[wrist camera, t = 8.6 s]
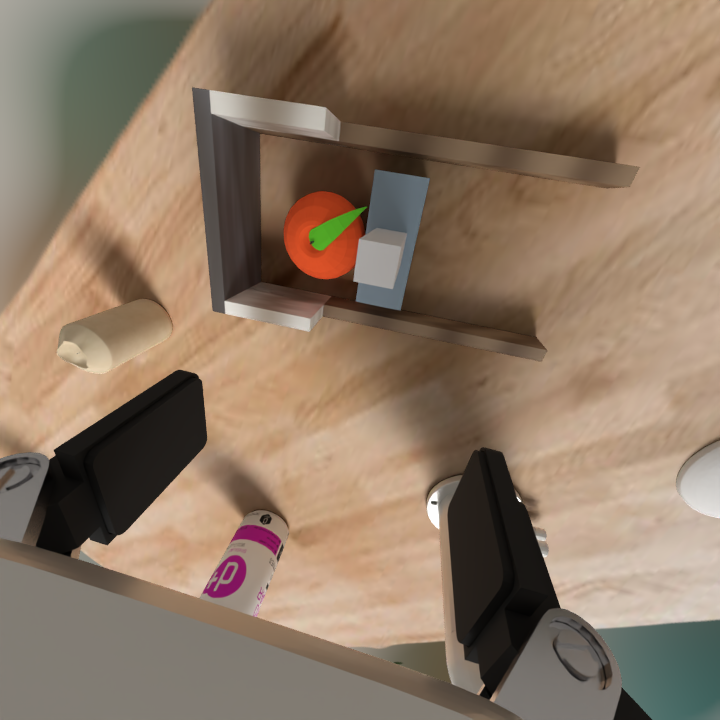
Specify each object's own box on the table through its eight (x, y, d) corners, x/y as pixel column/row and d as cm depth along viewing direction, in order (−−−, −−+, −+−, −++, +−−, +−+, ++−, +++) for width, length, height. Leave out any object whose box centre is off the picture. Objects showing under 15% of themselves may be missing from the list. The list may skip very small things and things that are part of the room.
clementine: (354, 166, 26) (334, 156, 20) (394, 239, 28) (387, 251, 22) (285, 221, 29) (250, 226, 23) (326, 283, 31) (304, 304, 25)
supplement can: (238, 507, 52) (178, 609, 39) (282, 508, 50) (233, 616, 37) (255, 537, 56) (204, 640, 43) (296, 539, 54) (256, 648, 41)
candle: (137, 336, 39) (55, 375, 30) (126, 294, 36) (34, 324, 28) (176, 344, 39) (105, 386, 30) (169, 302, 36) (88, 335, 27)
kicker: (428, 181, 26) (434, 168, 15) (402, 296, 30) (393, 348, 20) (381, 173, 26) (354, 155, 15) (363, 288, 31) (333, 336, 20)
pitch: (615, 170, 23) (684, 160, 17) (531, 348, 31) (558, 384, 25) (246, 113, 26) (192, 87, 20) (250, 290, 33) (212, 311, 27)
